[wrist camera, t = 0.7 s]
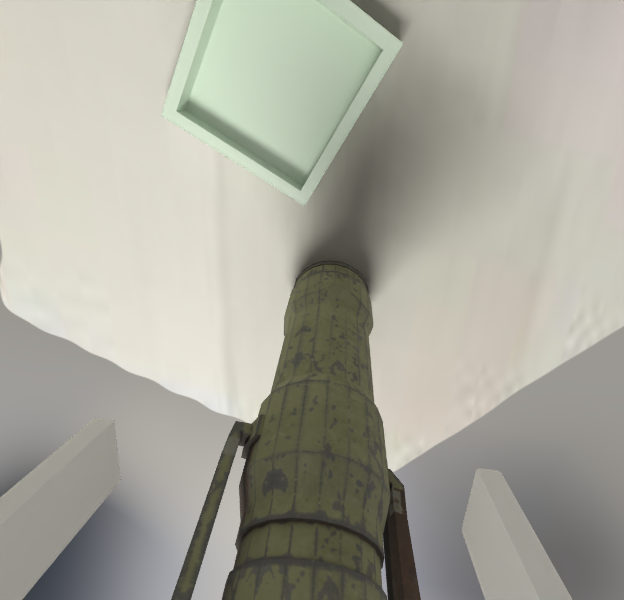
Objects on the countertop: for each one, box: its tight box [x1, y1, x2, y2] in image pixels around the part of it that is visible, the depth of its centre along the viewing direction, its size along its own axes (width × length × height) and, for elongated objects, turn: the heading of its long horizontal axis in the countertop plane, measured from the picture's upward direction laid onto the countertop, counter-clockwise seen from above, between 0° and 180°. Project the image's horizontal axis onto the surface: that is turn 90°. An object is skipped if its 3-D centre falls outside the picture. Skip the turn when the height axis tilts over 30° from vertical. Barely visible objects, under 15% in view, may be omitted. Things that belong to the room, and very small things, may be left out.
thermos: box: [171, 261, 421, 600], centre depth 24 cm, size 9×12×35 cm
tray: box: [161, 0, 403, 206], centre depth 27 cm, size 14×14×2 cm
